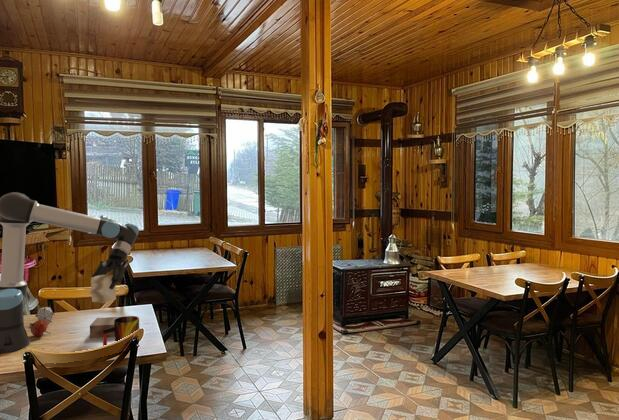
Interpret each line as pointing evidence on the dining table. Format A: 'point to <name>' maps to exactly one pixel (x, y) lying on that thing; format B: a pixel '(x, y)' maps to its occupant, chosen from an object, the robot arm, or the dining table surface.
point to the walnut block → (102, 327)
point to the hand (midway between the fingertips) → (98, 294)
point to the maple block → (101, 289)
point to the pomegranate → (39, 327)
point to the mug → (122, 327)
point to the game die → (45, 314)
